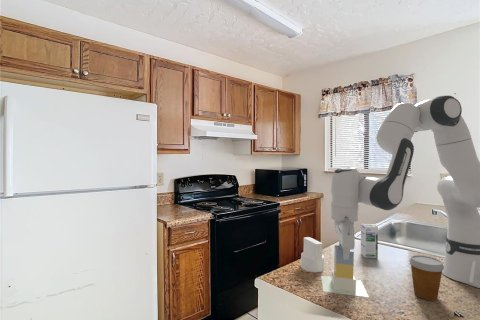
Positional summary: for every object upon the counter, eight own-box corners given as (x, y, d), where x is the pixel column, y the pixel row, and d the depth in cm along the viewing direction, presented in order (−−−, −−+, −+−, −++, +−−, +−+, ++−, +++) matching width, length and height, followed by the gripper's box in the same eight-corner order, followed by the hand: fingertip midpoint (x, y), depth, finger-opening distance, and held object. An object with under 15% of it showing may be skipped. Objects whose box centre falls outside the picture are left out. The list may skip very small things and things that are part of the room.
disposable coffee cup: (442, 307, 82) (443, 268, 81) (406, 296, 88) (407, 260, 88) (444, 295, 89) (445, 259, 89) (410, 285, 95) (411, 252, 95)
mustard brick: (350, 271, 94) (350, 259, 94) (353, 278, 89) (353, 265, 89) (334, 270, 96) (334, 257, 96) (335, 276, 90) (336, 263, 90)
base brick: (352, 282, 95) (352, 271, 95) (355, 291, 88) (356, 279, 88) (331, 279, 97) (331, 268, 97) (333, 289, 90) (333, 277, 90)
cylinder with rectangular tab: (296, 267, 110) (297, 238, 110) (314, 264, 113) (315, 236, 113) (309, 276, 102) (309, 245, 102) (328, 273, 105) (329, 242, 105)
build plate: (361, 283, 97) (361, 280, 97) (368, 300, 85) (369, 297, 85) (321, 278, 100) (321, 275, 100) (323, 294, 88) (323, 291, 88)
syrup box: (364, 258, 121) (365, 226, 121) (360, 253, 127) (360, 223, 127) (377, 258, 120) (378, 226, 120) (372, 254, 126) (373, 223, 126)
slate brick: (350, 259, 94) (351, 246, 94) (353, 265, 89) (353, 251, 89) (334, 257, 96) (334, 245, 96) (336, 263, 90) (336, 250, 90)
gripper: (360, 221, 81) (359, 266, 82) (349, 209, 101) (348, 245, 101) (338, 220, 83) (337, 264, 83) (331, 208, 103) (331, 243, 103)
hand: (343, 253), depth 92 cm, fingers open, 8 cm apart
